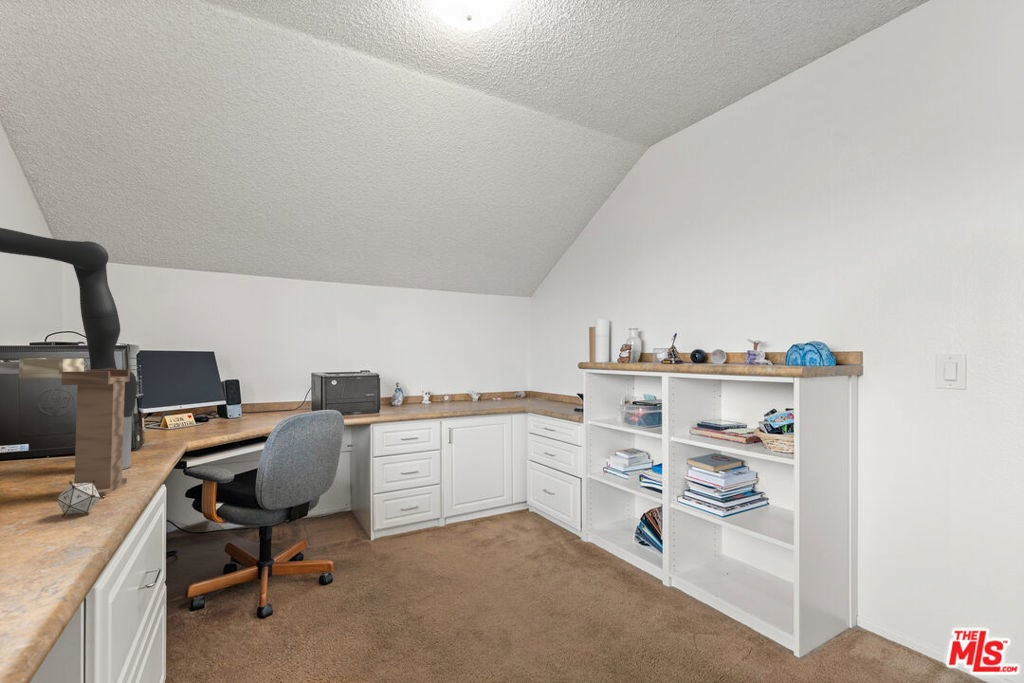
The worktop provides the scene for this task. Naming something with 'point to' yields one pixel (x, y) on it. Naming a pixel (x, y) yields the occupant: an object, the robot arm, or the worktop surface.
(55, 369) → the tray
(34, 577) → the worktop surface
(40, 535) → the worktop surface
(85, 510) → the game die
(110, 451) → the stand
